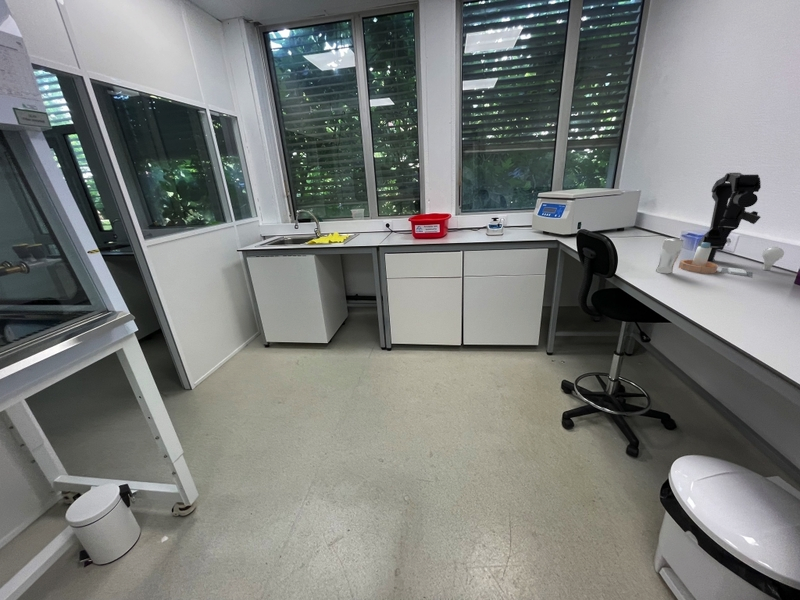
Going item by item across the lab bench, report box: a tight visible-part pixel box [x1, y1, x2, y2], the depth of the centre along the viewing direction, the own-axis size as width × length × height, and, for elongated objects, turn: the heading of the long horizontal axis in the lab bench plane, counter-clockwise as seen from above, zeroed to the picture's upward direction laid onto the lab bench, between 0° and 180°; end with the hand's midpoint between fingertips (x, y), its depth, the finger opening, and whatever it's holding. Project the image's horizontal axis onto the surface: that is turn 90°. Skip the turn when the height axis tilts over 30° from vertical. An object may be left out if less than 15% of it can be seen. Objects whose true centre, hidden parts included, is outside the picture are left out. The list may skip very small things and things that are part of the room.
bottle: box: [691, 242, 712, 267], centre depth 146 cm, size 5×5×12 cm
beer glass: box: [655, 237, 684, 275], centre depth 143 cm, size 7×7×15 cm
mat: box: [720, 267, 754, 278], centre depth 142 cm, size 10×10×1 cm
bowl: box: [678, 259, 719, 274], centre depth 148 cm, size 13×13×3 cm
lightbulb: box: [761, 246, 785, 272], centre depth 143 cm, size 6×6×11 cm
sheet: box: [727, 267, 747, 276], centre depth 142 cm, size 7×5×1 cm
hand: (723, 240), depth 146 cm, fingers open, 9 cm apart
